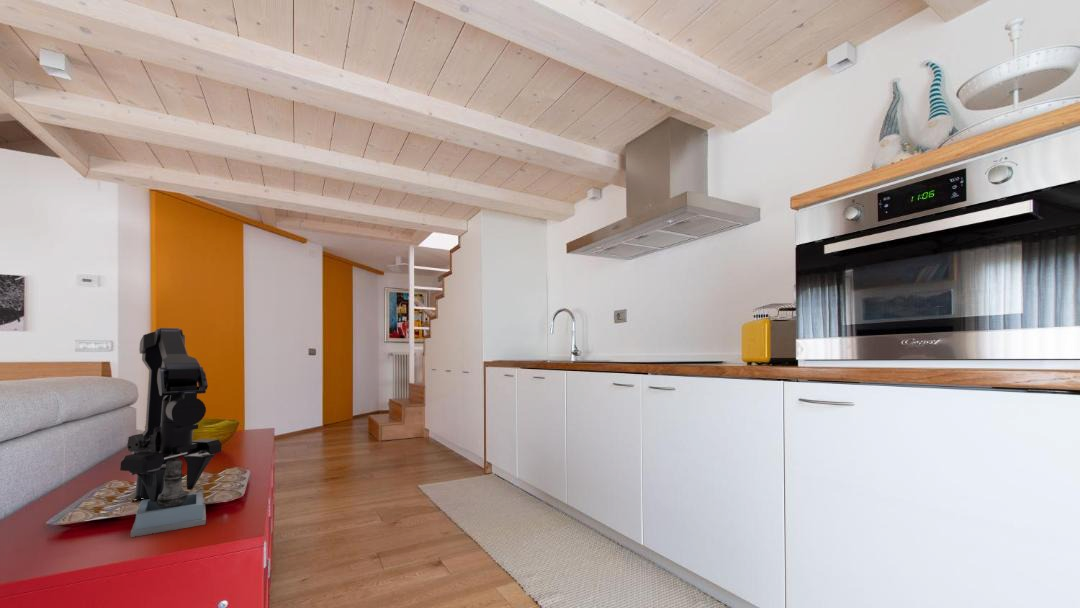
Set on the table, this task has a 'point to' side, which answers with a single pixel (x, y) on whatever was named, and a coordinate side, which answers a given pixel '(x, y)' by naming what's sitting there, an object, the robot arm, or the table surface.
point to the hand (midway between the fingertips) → (172, 495)
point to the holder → (169, 516)
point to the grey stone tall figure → (172, 486)
